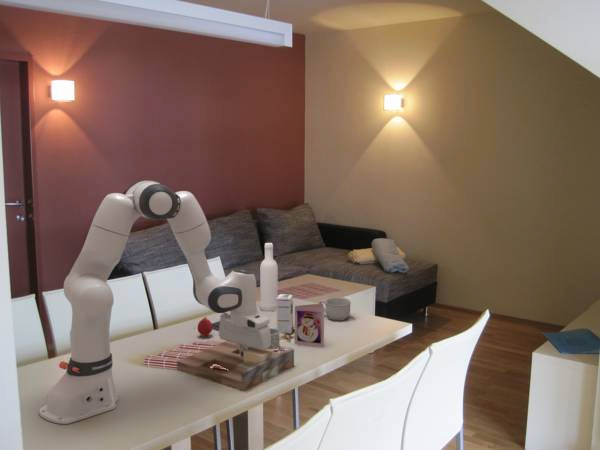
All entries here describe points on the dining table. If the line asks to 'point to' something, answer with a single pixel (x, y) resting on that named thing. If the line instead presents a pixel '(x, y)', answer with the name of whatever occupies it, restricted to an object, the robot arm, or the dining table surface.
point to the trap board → (234, 366)
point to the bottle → (268, 280)
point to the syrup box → (285, 313)
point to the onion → (204, 327)
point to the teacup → (337, 308)
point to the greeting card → (309, 325)
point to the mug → (274, 339)
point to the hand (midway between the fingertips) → (244, 356)
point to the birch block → (256, 356)
